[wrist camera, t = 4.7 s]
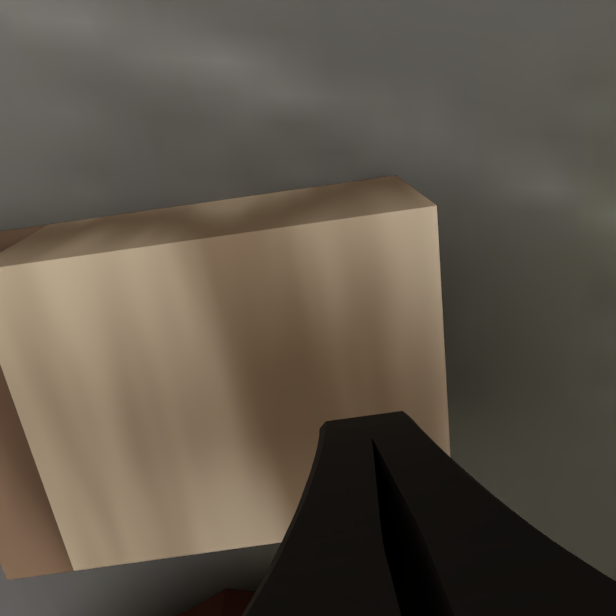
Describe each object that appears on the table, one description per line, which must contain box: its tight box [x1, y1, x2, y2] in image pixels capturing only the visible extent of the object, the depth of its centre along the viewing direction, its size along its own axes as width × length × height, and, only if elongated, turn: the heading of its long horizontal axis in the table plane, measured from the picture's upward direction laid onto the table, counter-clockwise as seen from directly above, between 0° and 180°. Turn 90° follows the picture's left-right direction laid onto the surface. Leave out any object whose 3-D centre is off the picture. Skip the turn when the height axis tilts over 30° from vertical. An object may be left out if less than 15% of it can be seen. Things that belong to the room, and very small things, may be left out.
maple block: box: [0, 175, 450, 580], centre depth 14 cm, size 4×7×10 cm
